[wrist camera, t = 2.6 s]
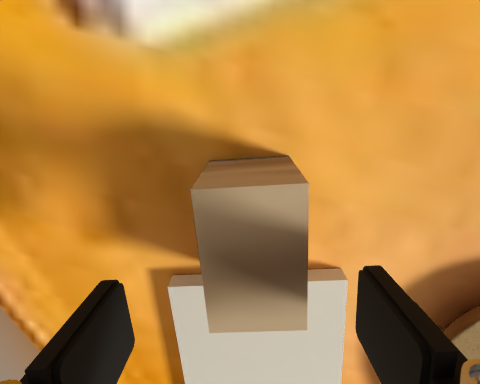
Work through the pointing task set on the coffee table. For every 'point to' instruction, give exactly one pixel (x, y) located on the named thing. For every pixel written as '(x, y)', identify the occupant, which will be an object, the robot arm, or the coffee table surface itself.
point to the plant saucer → (466, 333)
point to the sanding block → (253, 244)
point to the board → (262, 338)
